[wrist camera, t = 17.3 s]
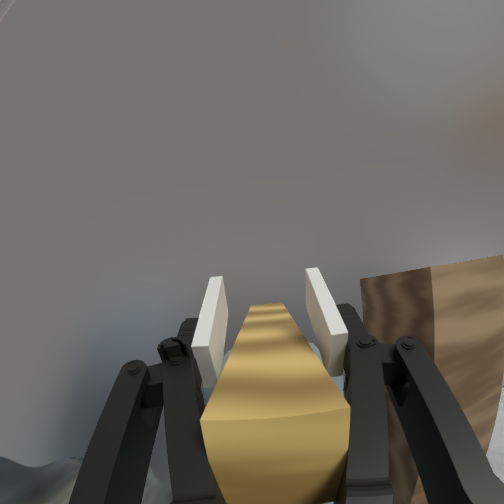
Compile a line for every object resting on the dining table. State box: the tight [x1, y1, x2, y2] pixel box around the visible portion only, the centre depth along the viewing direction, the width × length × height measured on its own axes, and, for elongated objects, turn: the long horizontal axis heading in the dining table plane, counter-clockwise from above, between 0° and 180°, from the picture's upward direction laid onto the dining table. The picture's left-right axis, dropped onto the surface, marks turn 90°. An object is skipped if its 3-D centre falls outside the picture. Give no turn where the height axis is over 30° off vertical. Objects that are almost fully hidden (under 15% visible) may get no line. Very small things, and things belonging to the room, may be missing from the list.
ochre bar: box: [200, 303, 351, 504], centre depth 21 cm, size 30×4×4 cm, turn 177°
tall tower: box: [360, 255, 504, 504], centre depth 25 cm, size 18×10×28 cm, turn 177°
